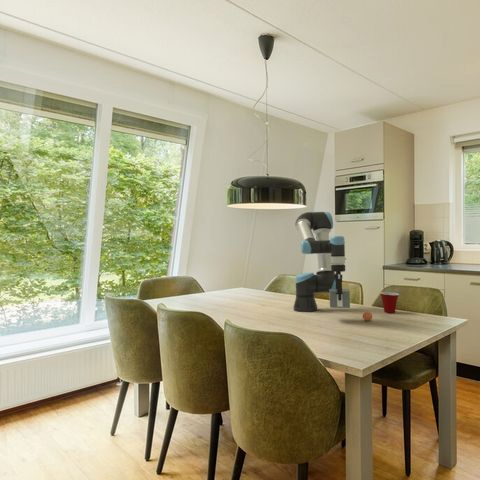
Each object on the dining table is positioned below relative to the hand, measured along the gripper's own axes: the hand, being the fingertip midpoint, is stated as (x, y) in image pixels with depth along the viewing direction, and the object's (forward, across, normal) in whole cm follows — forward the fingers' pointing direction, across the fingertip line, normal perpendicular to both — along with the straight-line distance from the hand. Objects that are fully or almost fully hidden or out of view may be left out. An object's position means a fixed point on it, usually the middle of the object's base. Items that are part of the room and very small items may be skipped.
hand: (339, 304), depth 204 cm
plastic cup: (+9, +26, -30) cm, 41 cm away
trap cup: (+1, 0, 0) cm, 1 cm away
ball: (+6, 0, -14) cm, 16 cm away
